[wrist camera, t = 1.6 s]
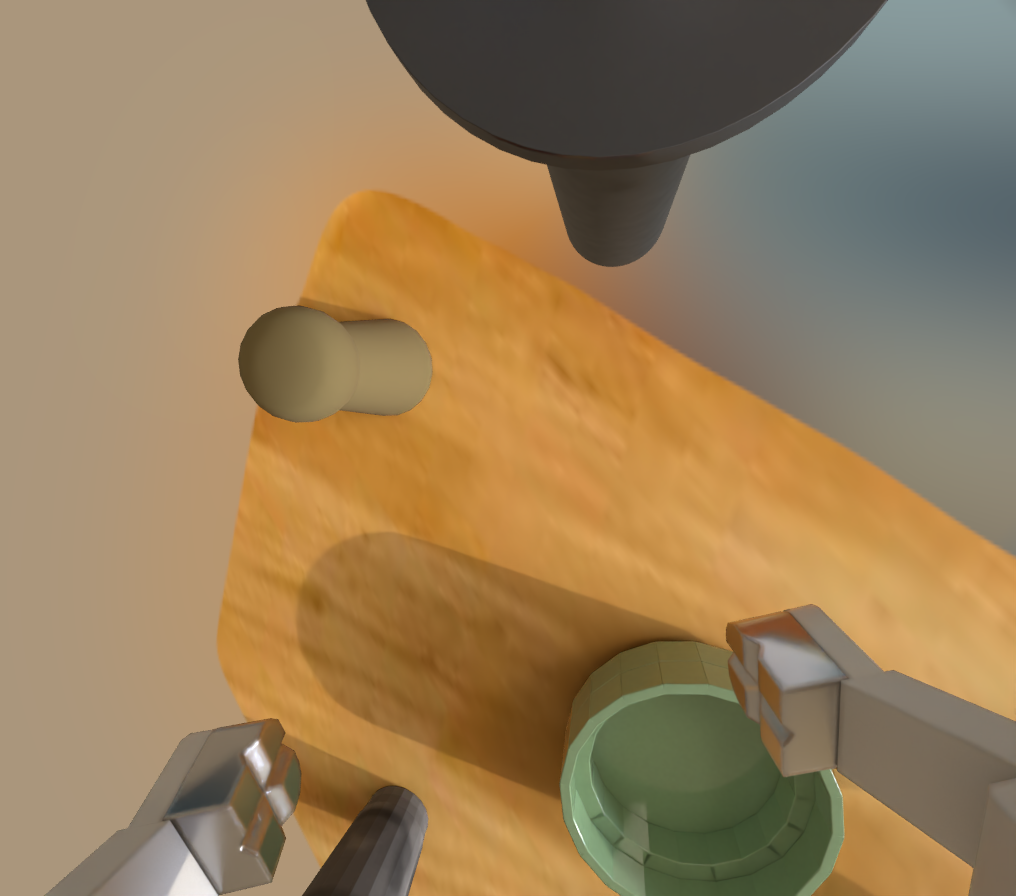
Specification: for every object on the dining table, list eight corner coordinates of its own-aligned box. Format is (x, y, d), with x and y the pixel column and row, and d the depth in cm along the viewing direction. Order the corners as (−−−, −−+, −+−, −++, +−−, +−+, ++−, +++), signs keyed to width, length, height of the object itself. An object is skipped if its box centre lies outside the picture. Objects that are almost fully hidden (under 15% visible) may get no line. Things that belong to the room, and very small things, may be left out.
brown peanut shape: (420, 308, 31) (323, 273, 21) (441, 405, 32) (357, 421, 21) (332, 330, 33) (198, 309, 22) (354, 424, 33) (233, 447, 23)
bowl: (594, 608, 32) (592, 650, 27) (838, 675, 30) (883, 734, 25) (547, 802, 34) (537, 872, 30) (768, 877, 32) (797, 966, 27)
